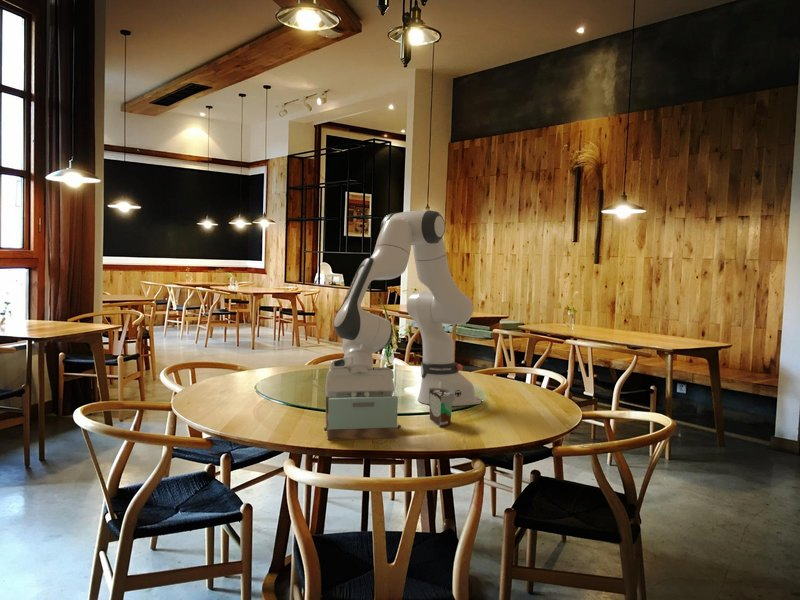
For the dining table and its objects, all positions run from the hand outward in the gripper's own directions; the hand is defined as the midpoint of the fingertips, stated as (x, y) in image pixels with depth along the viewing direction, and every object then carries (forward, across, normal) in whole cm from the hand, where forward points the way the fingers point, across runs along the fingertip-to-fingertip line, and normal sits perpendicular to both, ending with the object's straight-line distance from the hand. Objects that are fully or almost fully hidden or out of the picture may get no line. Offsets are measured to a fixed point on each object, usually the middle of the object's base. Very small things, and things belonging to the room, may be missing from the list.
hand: (360, 408), depth 188 cm
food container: (-3, -28, -16) cm, 32 cm away
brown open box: (+2, -1, -11) cm, 11 cm away
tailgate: (+4, -1, -4) cm, 6 cm away
